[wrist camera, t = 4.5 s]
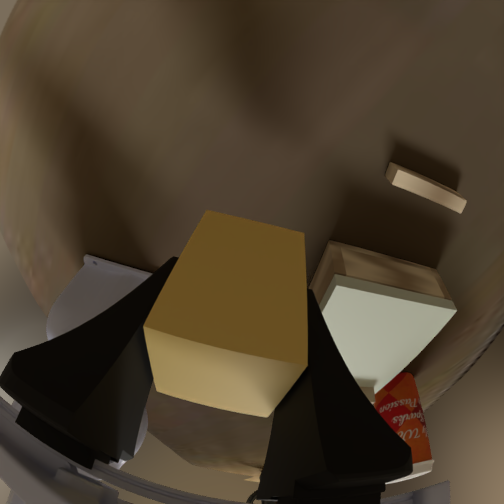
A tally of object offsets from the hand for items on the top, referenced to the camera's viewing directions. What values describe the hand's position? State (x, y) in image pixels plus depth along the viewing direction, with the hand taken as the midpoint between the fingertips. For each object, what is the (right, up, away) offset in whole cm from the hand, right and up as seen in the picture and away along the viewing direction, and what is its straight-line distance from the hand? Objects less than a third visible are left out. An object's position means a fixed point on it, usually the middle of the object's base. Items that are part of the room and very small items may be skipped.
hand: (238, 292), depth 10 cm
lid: (+9, -8, +11) cm, 16 cm away
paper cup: (+19, -16, +19) cm, 31 cm away
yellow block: (0, +1, +2) cm, 2 cm away
